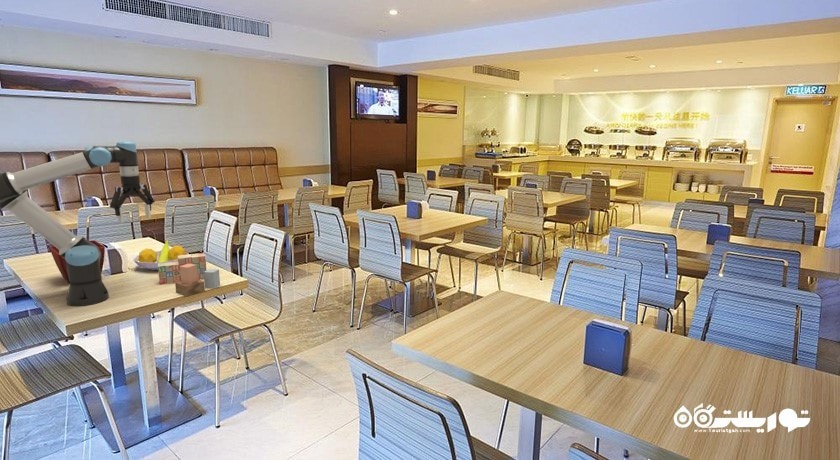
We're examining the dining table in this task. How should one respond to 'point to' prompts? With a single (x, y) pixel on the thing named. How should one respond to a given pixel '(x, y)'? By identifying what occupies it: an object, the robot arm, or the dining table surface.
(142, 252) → the fruit bowl
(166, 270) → the stack of blocks
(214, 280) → the greyblue block
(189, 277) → the terracotta block
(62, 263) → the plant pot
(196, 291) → the walnut base
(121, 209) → the robot arm
